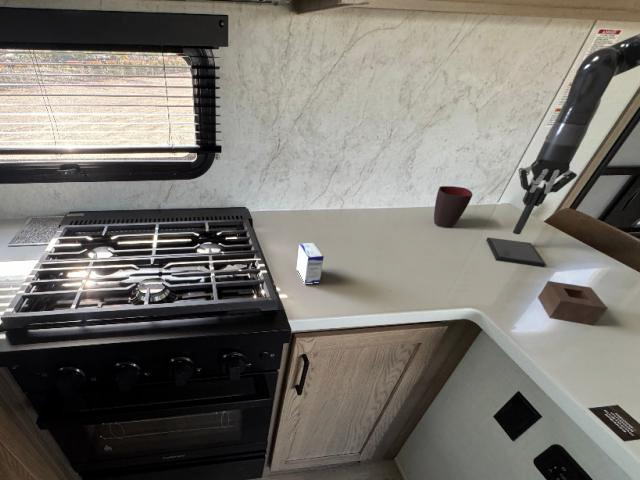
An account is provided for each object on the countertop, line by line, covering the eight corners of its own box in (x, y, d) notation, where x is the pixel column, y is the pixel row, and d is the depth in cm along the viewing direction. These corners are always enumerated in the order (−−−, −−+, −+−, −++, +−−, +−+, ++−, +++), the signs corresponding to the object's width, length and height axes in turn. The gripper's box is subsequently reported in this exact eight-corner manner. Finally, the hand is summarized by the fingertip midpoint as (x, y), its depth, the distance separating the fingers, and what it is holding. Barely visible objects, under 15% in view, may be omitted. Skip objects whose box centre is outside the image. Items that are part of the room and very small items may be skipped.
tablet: (529, 245, 109) (530, 242, 109) (543, 267, 99) (545, 263, 98) (486, 240, 113) (487, 237, 112) (495, 260, 102) (497, 257, 101)
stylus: (519, 232, 107) (542, 187, 98) (521, 234, 105) (544, 189, 97) (511, 231, 107) (534, 186, 99) (513, 233, 106) (536, 188, 98)
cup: (430, 228, 120) (442, 194, 113) (423, 213, 131) (434, 181, 123) (462, 231, 118) (476, 197, 111) (452, 215, 129) (464, 183, 121)
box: (320, 283, 93) (324, 256, 88) (304, 285, 92) (307, 257, 87) (311, 268, 99) (314, 242, 94) (295, 270, 98) (298, 243, 93)
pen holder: (578, 304, 85) (590, 287, 82) (594, 325, 78) (608, 308, 75) (537, 297, 87) (547, 280, 84) (549, 317, 81) (560, 300, 78)
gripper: (536, 142, 90) (506, 206, 100) (601, 146, 86) (563, 212, 96) (527, 136, 95) (500, 198, 106) (588, 139, 92) (554, 203, 102)
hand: (530, 204), depth 101 cm, fingers closed on stylus, 2 cm apart
